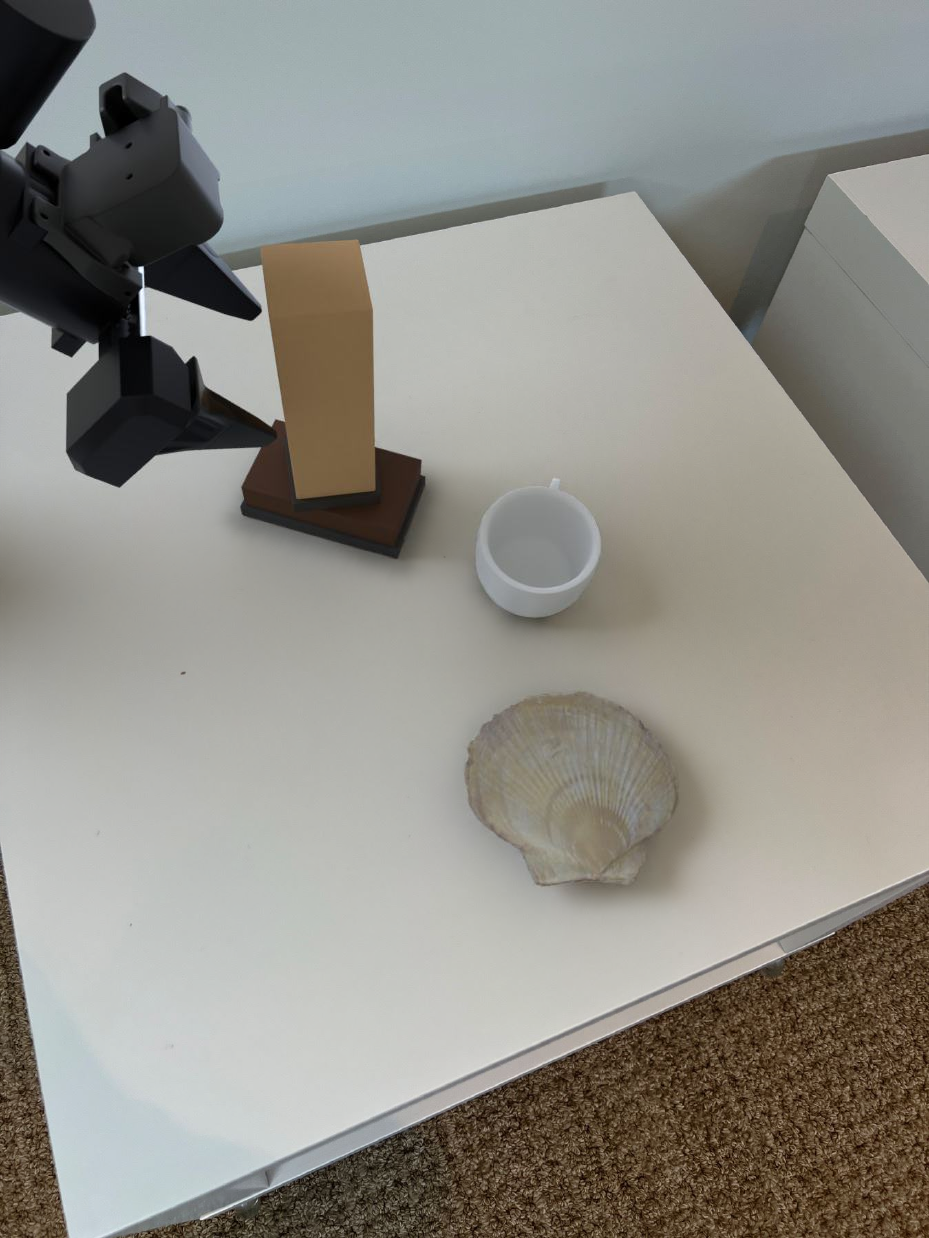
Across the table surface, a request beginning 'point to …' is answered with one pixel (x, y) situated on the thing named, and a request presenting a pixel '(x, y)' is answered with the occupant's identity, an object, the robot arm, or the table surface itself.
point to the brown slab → (348, 525)
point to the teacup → (537, 550)
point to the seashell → (571, 786)
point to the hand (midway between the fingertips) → (264, 374)
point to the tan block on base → (324, 370)
